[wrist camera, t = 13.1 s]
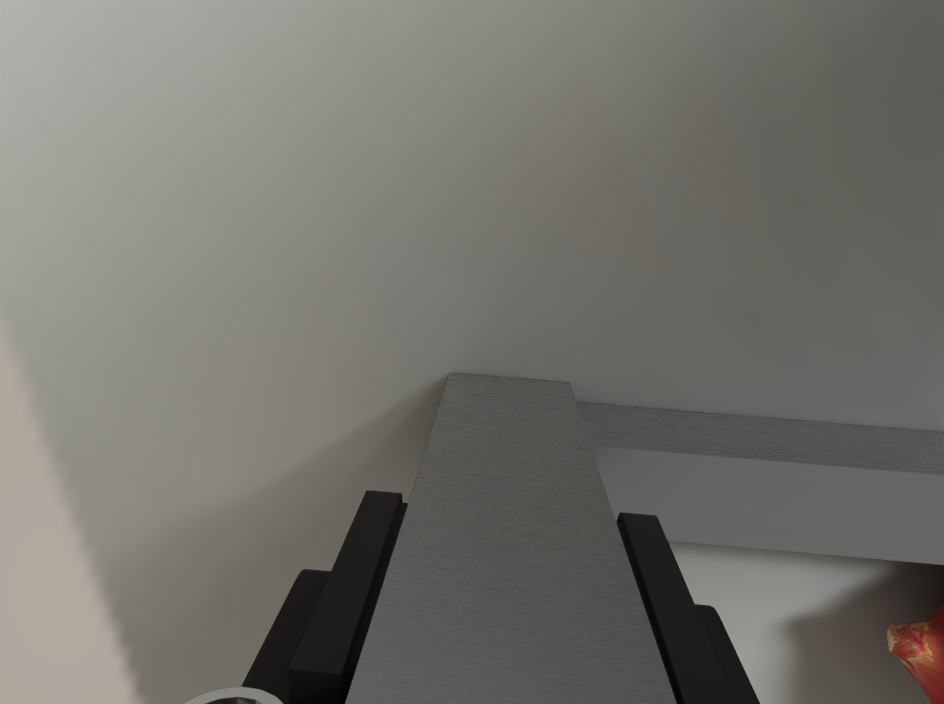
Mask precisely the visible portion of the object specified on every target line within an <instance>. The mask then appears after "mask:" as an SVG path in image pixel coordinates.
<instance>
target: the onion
mask: <svg viewBox="0 0 944 704" xmlns="http://www.w3.org/2000/svg"><path fill="white" fill-rule="evenodd" d="M887 639H888V646H889V651H890V652H891V653H893V654H894V655H895V656H897V657H898V658H899V659H900V660H901V661H902V663H903V664H904V665H905V667H906V668H907V669H908V671H909V672H910V673H911V674H912V676H913V677H914V678H915V679H916V680H917V681H918V682H919V683H920V685H921V686H922V688H923V690H924V691H925V693H926V695H927V696H928V698H929V699H930V701H931V703H932V704H944V601H943V602H942V603H941V605H940V606H939V607H938V608H937V609H936V611H935V612H934V613H933V614H932V616H931V617H930V618H929V619H927V620H926V621H925V622H914V623H906V624H900V625H898V624H890V626H889V628H888V630H887Z"/></svg>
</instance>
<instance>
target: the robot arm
mask: <svg viewBox="0 0 944 704" xmlns="http://www.w3.org/2000/svg"><path fill="white" fill-rule="evenodd" d="M407 506H408V503H402V494H401V493H391V492H379V491H366V493H365V495H364V497H363V499H362V502H361V504H360V506H359V509H358V511H357V513H356V516H355V518H354V520H353V522H352V525H351V527H350V529H349V532H348V534H347V536H346V539H345V541H344V543H343V546H342V548H341V550H340V552H339V555H338V557H337V559H336V562H335V564H334V566H333V569H332V571H320V570H309V569H304V570H302V571H301V572H300V574H299V575H298V577H297V579H296V580H295V582H294V584H293V586H292V588H291V590H290V592H289V594H288V596H287V598H286V600H285V602H284V604H283V606H282V608H281V610H280V612H279V614H278V616H277V618H276V620H275V622H274V624H273V626H272V627H271V629H270V631H269V633H268V635H267V637H266V639H265V641H264V643H263V645H262V647H261V649H260V651H259V653H258V655H257V657H256V659H255V661H254V663H253V665H252V667H251V669H250V671H249V672H248V674H247V676H246V678H245V680H244V682H243V684H242V686H241V687H234V688H222V689H218V690H215V691H212V692H208V693H205V694H202V695H199V696H197V697H196V698H194V699H192V700H190V701H188V702H186V703H184V704H345V702H346V699H347V696H348V693H349V690H350V687H351V683H352V680H353V677H354V674H355V671H356V668H357V664H358V661H359V658H360V655H361V652H362V649H363V645H364V642H365V639H366V636H367V633H368V630H369V626H370V623H371V620H372V617H373V614H374V611H375V607H376V604H377V601H378V598H379V595H380V592H381V588H382V585H383V582H384V579H385V576H386V573H387V569H388V566H389V563H390V560H391V557H392V554H393V550H394V547H395V544H396V541H397V538H398V535H399V531H400V528H401V525H402V522H403V519H404V516H405V512H406V509H407ZM616 523H617V526H618V529H619V532H620V535H621V538H622V541H623V544H624V547H625V550H626V553H627V556H628V559H629V562H630V565H631V568H632V571H633V574H634V577H635V580H636V583H637V586H638V589H639V592H640V595H641V598H642V601H643V604H644V607H645V610H646V613H647V616H648V619H649V622H650V625H651V628H652V631H653V634H654V637H655V640H656V643H657V646H658V649H659V652H660V655H661V658H662V661H663V664H664V667H665V670H666V673H667V676H668V679H669V682H670V685H671V688H672V691H673V694H674V697H675V700H676V703H677V704H760V702H759V700H758V698H757V696H756V694H755V692H754V690H753V687H752V685H751V683H750V681H749V679H748V677H747V675H746V672H745V670H744V668H743V666H742V664H741V662H740V660H739V657H738V655H737V653H736V651H735V649H734V647H733V645H732V642H731V640H730V638H729V636H728V634H727V632H726V630H725V628H724V625H723V623H722V621H721V619H720V617H719V615H718V613H717V612H716V610H715V608H713V607H711V606H708V605H697V604H694V602H693V600H692V597H691V595H690V593H689V590H688V588H687V585H686V583H685V581H684V578H683V576H682V574H681V571H680V569H679V567H678V564H677V562H676V559H675V557H674V555H673V552H672V550H671V548H670V545H669V543H668V541H667V538H666V536H665V533H664V531H663V529H662V526H661V524H660V522H659V519H658V518H657V516H656V515H646V514H634V513H623V512H620V513H619V515H618V518H617V521H616Z"/></svg>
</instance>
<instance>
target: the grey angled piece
mask: <svg viewBox="0 0 944 704" xmlns="http://www.w3.org/2000/svg"><path fill="white" fill-rule="evenodd" d="M620 512H623V513H634V514H646V515H656V516H657V518H658V519H659V522H660V524H661V526H662V529H663V531H664V533H665V536H666V538H667V541H675V542H686V543H698V544H709V545H721V546H732V547H743V548H755V549H766V550H778V551H789V552H800V553H812V554H823V555H835V556H846V557H857V558H869V559H880V560H892V561H903V562H914V563H926V564H937V565H944V432H932V431H920V430H907V429H895V428H883V427H871V426H858V425H846V424H834V423H822V422H809V421H797V420H785V419H773V418H760V417H748V416H736V415H724V414H711V413H699V412H687V411H675V410H662V409H650V408H638V407H626V406H613V405H601V404H589V403H577V402H576V401H575V398H574V395H573V392H572V389H571V386H570V383H568V382H556V381H544V380H531V379H519V378H506V377H494V376H482V375H469V374H457V373H449V376H448V380H447V383H446V386H445V389H444V392H443V395H442V398H441V402H440V405H439V408H438V411H437V414H436V417H435V421H434V424H433V427H432V430H431V433H430V436H429V440H428V443H427V446H426V449H425V452H424V455H423V459H422V462H421V465H420V468H419V471H418V474H417V478H416V481H415V484H414V487H413V490H412V493H411V497H410V500H409V503H408V506H407V509H406V512H405V516H404V519H403V522H402V525H401V528H400V531H399V535H398V538H397V541H396V544H395V547H394V550H393V554H392V557H391V560H390V563H389V566H388V569H387V573H386V576H385V579H384V582H383V585H382V588H381V592H380V595H379V598H378V601H377V604H376V607H375V611H374V614H373V617H372V620H371V623H370V626H369V630H368V633H367V636H366V639H365V642H364V645H363V649H362V652H361V655H360V658H359V661H358V664H357V668H356V671H355V674H354V677H353V680H352V683H351V687H350V690H349V693H348V696H347V699H346V702H345V704H677V703H676V700H675V697H674V694H673V691H672V688H671V685H670V682H669V679H668V676H667V673H666V670H665V667H664V664H663V661H662V658H661V655H660V652H659V649H658V646H657V643H656V640H655V637H654V634H653V631H652V628H651V625H650V622H649V619H648V616H647V613H646V610H645V607H644V604H643V601H642V598H641V595H640V592H639V589H638V586H637V583H636V580H635V577H634V574H633V571H632V568H631V565H630V562H629V559H628V556H627V553H626V550H625V547H624V544H623V541H622V538H621V535H620V532H619V529H618V526H617V523H616V521H617V518H618V515H619V513H620Z"/></svg>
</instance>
